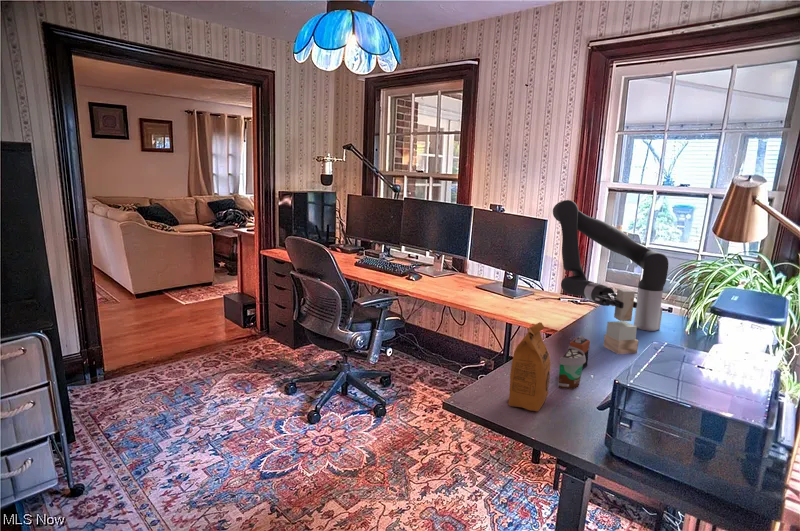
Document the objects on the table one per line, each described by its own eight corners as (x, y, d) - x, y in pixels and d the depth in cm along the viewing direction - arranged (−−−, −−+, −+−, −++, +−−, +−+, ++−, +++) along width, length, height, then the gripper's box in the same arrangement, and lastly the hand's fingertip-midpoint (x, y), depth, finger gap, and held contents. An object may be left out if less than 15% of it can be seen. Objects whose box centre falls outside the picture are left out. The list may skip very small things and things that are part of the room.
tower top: (622, 333, 171) (623, 321, 171) (635, 339, 165) (637, 326, 164) (606, 334, 170) (607, 321, 169) (618, 340, 163) (620, 327, 162)
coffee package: (553, 399, 127) (560, 324, 123) (538, 417, 117) (545, 335, 113) (519, 389, 133) (524, 317, 129) (502, 405, 123) (507, 327, 119)
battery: (587, 365, 152) (590, 337, 150) (580, 371, 147) (583, 342, 145) (574, 362, 155) (577, 334, 153) (567, 367, 150) (569, 339, 148)
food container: (578, 395, 130) (582, 362, 129) (556, 389, 133) (559, 357, 132) (586, 380, 141) (589, 349, 139) (566, 375, 144) (569, 345, 142)
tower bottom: (621, 345, 173) (623, 333, 172) (636, 353, 165) (638, 340, 164) (603, 346, 171) (604, 334, 170) (617, 354, 164) (619, 341, 163)
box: (631, 321, 164) (635, 292, 162) (619, 321, 164) (623, 291, 162) (624, 317, 169) (628, 288, 167) (613, 316, 169) (616, 288, 167)
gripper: (584, 284, 177) (613, 295, 160) (615, 284, 180) (647, 294, 164) (581, 303, 178) (611, 316, 162) (613, 302, 181) (645, 314, 165)
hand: (629, 305), depth 163 cm, fingers closed on box, 5 cm apart
